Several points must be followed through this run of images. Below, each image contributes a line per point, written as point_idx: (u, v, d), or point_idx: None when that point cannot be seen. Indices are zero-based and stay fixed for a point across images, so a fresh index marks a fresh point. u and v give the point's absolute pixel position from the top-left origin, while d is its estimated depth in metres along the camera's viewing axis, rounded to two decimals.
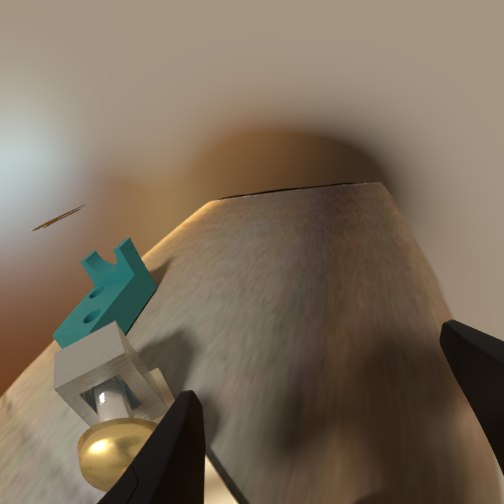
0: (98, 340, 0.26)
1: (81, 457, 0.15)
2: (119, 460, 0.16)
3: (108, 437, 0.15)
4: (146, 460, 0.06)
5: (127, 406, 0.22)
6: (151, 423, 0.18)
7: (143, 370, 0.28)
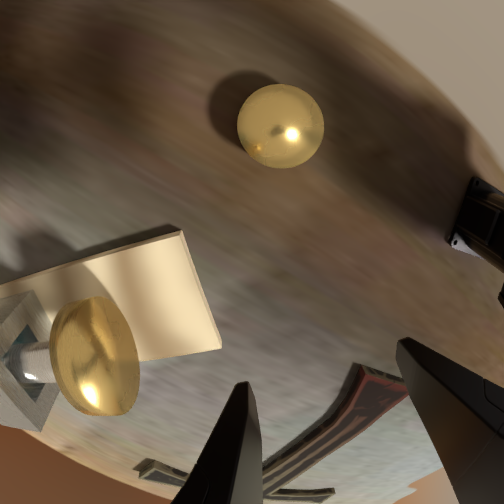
0: None
1: (111, 415, 0.16)
2: (103, 374, 0.16)
3: (81, 392, 0.14)
4: (214, 457, 0.06)
5: (34, 349, 0.17)
6: (53, 335, 0.14)
7: None
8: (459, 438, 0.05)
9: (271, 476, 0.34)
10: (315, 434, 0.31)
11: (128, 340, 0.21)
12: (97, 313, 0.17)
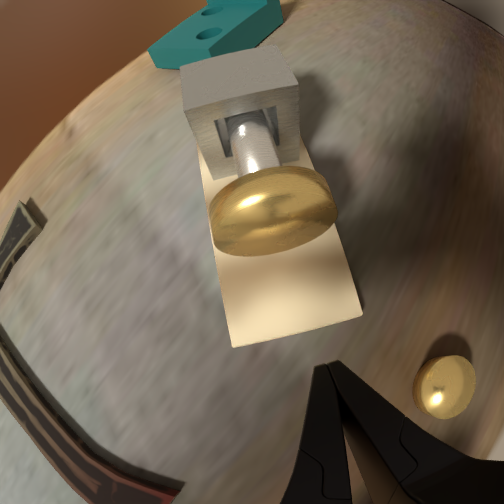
0: (253, 61, 0.20)
1: (229, 211, 0.16)
2: (274, 219, 0.18)
3: (284, 190, 0.16)
4: (318, 440, 0.06)
5: (275, 146, 0.21)
6: (324, 179, 0.18)
7: None
8: (374, 475, 0.05)
9: (1, 363, 0.23)
10: (69, 432, 0.21)
11: (264, 250, 0.22)
12: (316, 228, 0.20)
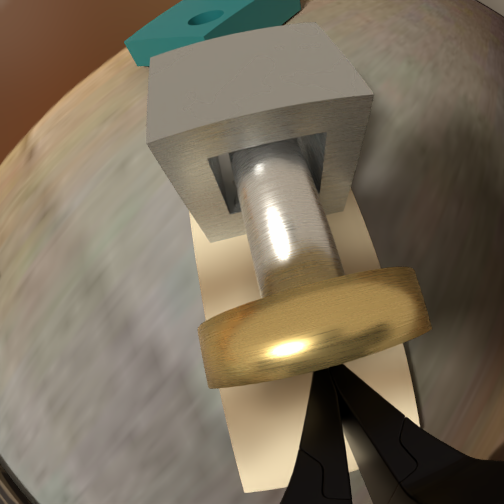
0: (280, 46, 0.10)
1: (239, 371, 0.07)
2: None
3: (364, 338, 0.07)
4: (318, 440, 0.06)
5: (317, 193, 0.12)
6: None
7: None
8: (374, 475, 0.05)
9: None
10: None
11: None
12: None
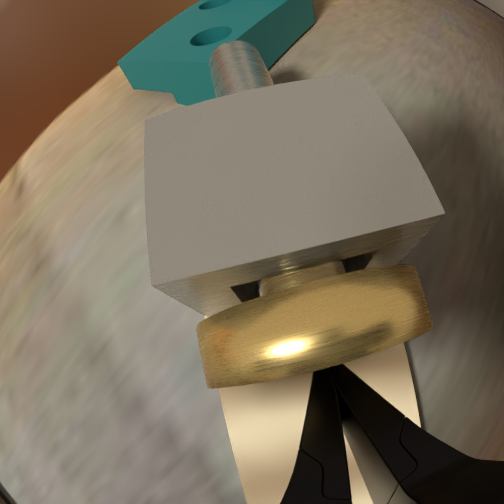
0: (323, 119, 0.09)
1: (238, 370, 0.07)
2: None
3: (366, 338, 0.06)
4: (318, 440, 0.06)
5: None
6: (418, 276, 0.09)
7: None
8: (374, 475, 0.05)
9: None
10: None
11: None
12: None
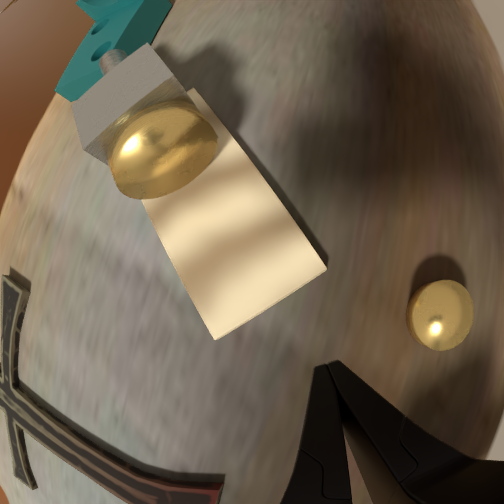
0: (129, 70, 0.18)
1: (115, 161, 0.18)
2: (155, 152, 0.19)
3: (145, 125, 0.17)
4: (317, 440, 0.06)
5: None
6: (186, 104, 0.19)
7: None
8: (374, 475, 0.05)
9: (42, 422, 0.26)
10: (116, 461, 0.23)
11: (174, 184, 0.23)
12: (204, 146, 0.21)
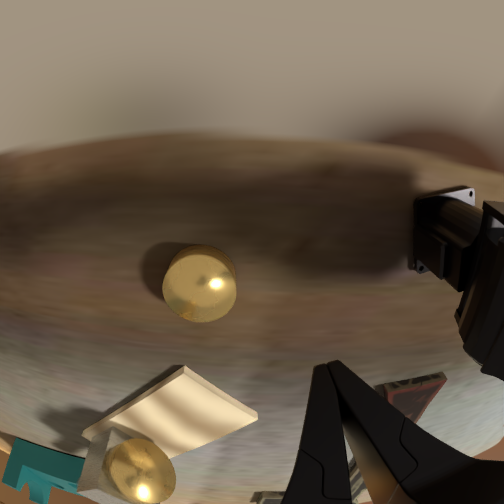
0: (100, 499, 0.22)
1: (159, 501, 0.23)
2: (145, 483, 0.23)
3: (134, 498, 0.21)
4: (318, 440, 0.06)
5: None
6: (108, 474, 0.22)
7: (94, 457, 0.25)
8: (374, 475, 0.05)
9: (359, 473, 0.37)
10: None
11: (157, 453, 0.28)
12: (127, 452, 0.25)
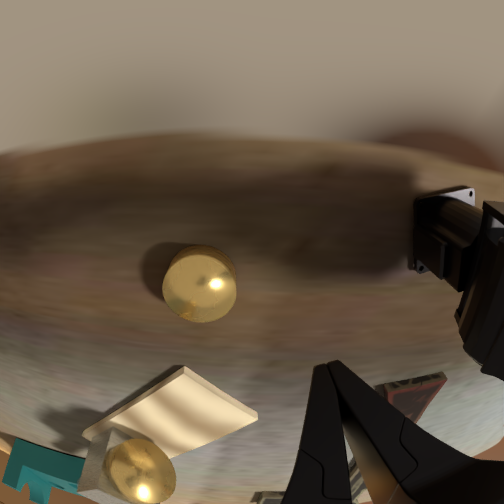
0: (100, 499, 0.22)
1: (159, 502, 0.23)
2: (145, 483, 0.23)
3: (134, 498, 0.21)
4: (318, 440, 0.06)
5: None
6: (108, 474, 0.22)
7: (94, 457, 0.25)
8: (374, 475, 0.05)
9: (360, 473, 0.37)
10: None
11: (157, 453, 0.28)
12: (127, 452, 0.25)
